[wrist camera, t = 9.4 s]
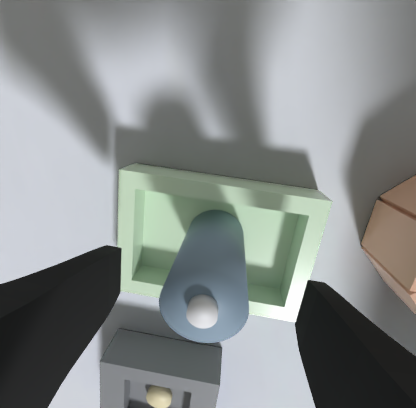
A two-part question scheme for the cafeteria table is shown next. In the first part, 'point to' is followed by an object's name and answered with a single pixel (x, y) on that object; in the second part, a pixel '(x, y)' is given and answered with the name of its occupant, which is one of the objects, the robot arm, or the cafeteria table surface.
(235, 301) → the cell
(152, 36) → the cafeteria table surface
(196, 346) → the grey button box
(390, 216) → the cup
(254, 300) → the trough
